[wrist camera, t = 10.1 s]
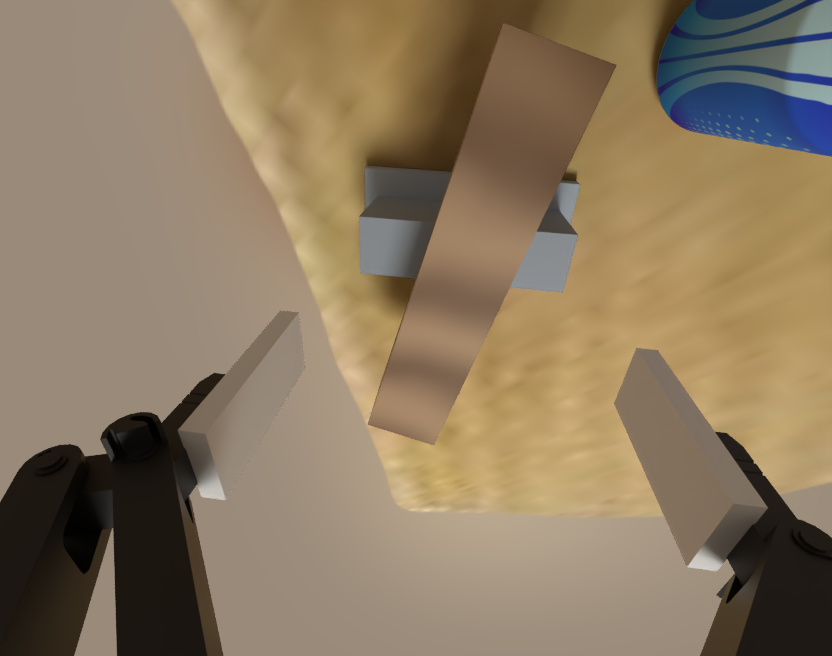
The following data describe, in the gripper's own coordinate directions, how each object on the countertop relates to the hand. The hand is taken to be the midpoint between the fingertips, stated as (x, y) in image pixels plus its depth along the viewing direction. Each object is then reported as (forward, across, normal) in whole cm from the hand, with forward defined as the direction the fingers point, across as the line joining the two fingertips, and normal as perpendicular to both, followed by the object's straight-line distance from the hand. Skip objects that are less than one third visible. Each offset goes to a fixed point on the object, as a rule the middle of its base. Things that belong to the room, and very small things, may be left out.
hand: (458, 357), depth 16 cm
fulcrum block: (+20, 0, 0) cm, 20 cm away
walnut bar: (+12, 0, -1) cm, 12 cm away
